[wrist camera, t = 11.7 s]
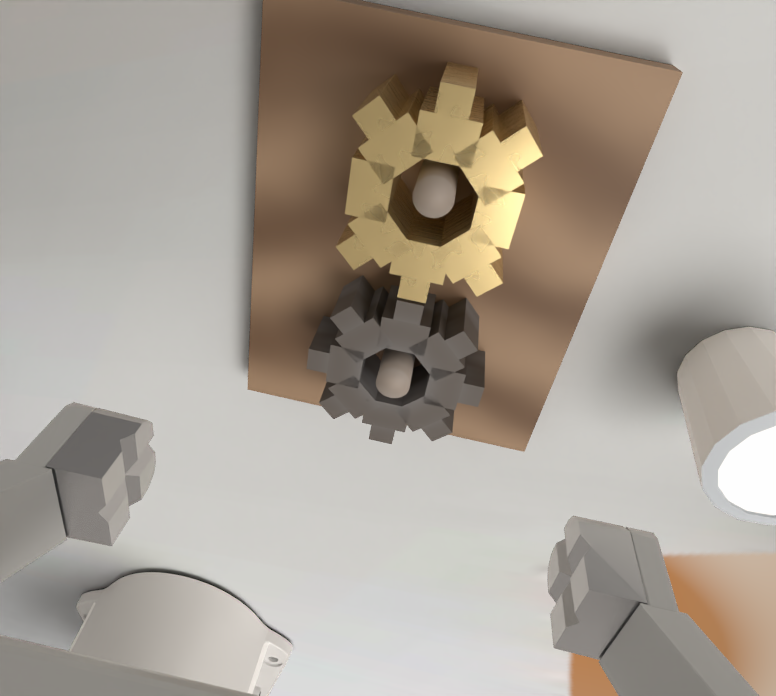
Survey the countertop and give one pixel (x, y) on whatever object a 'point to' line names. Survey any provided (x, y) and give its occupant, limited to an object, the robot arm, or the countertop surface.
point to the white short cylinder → (734, 420)
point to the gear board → (551, 215)
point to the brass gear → (447, 145)
